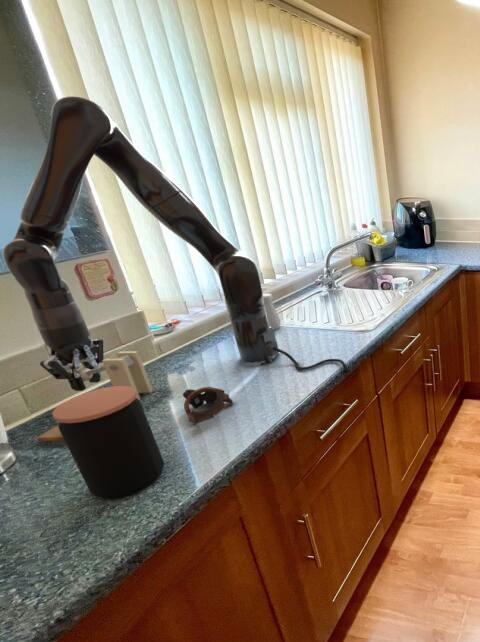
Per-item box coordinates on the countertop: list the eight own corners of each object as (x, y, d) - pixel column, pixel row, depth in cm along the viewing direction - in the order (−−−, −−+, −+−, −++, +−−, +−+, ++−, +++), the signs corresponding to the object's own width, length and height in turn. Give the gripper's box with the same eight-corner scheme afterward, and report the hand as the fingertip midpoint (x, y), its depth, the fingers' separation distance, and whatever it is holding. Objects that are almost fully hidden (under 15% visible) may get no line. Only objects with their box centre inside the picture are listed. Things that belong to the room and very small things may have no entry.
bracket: (103, 409, 99) (83, 363, 95) (130, 392, 107) (113, 349, 102) (146, 408, 100) (128, 362, 95) (169, 391, 107) (154, 348, 103)
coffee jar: (123, 462, 82) (89, 386, 75) (179, 460, 83) (150, 384, 76) (75, 504, 72) (31, 420, 66) (139, 500, 73) (102, 417, 66)
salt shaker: (273, 332, 144) (265, 297, 140) (259, 330, 145) (251, 296, 141) (285, 326, 150) (278, 292, 145) (271, 324, 151) (264, 291, 146)
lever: (75, 385, 99) (65, 374, 98) (87, 378, 102) (78, 367, 101) (126, 369, 98) (117, 357, 97) (138, 363, 101) (129, 351, 100)
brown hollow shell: (246, 404, 102) (233, 389, 96) (218, 438, 96) (203, 424, 90) (205, 389, 103) (189, 372, 97) (175, 421, 98) (156, 406, 91)
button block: (129, 419, 96) (123, 405, 94) (94, 444, 87) (87, 429, 86) (80, 420, 95) (73, 406, 94) (41, 446, 87) (33, 430, 85)
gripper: (47, 334, 88) (77, 401, 95) (104, 311, 102) (127, 372, 108) (10, 334, 88) (43, 401, 94) (72, 312, 101) (97, 372, 107)
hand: (88, 385), depth 101 cm, fingers closed on lever, 3 cm apart
